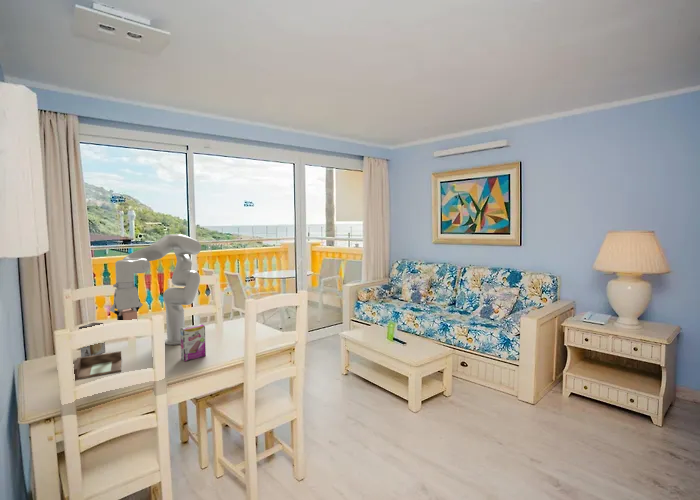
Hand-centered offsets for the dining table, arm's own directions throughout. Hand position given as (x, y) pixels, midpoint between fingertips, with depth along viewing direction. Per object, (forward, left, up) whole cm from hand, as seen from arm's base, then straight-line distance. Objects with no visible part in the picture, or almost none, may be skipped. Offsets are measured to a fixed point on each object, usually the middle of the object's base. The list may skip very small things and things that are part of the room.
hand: (127, 321), depth 183 cm
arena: (+13, +2, -21) cm, 25 cm away
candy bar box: (-28, +9, -21) cm, 37 cm away
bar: (0, 0, -1) cm, 1 cm away
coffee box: (+17, -23, -21) cm, 36 cm away
